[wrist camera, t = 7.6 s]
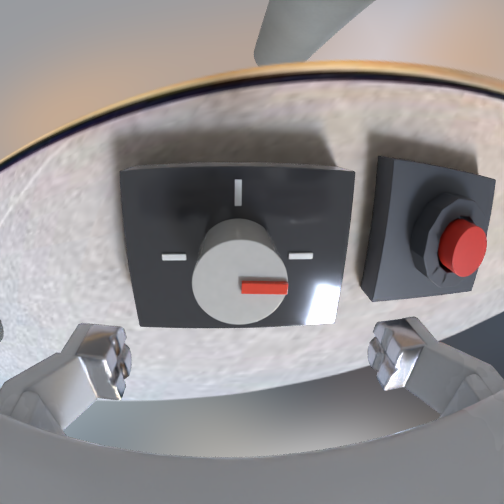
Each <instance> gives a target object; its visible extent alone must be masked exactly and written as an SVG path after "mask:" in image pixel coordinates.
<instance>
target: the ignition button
mask: <svg viewBox="0 0 504 504" xmlns="http://www.w3.org/2000/svg"><path fill="white" fill-rule="evenodd" d="M486 247H487V239H486V235H485V232H484V231H483V229H482V228H480V227H479V226H477V225H475V224H473V223H470V222H468V221H466V220H464V219H456V220H454V221H452V222H451V223H449V224H448V225H447V227H446V229H445V230H444V232H443V234H442V235H441V237H440V242H439V246H438V256H439V259H440V261H441V263H442V264H443V265H444V266H446V267H447V268H448V269H450V270H451V271H452V272H454V273H455V274H457V275H458V276H460V277H466V276H469V275H471V274H472V273H473V272H475V271H476V269H477V268H478V267H479V266H480V264H481V262H482V260H483V258H484V256H485V252H486Z"/></svg>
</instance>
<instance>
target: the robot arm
mask: <svg viewBox="0 0 504 504" xmlns="http://www.w3.org/2000/svg"><path fill="white" fill-rule="evenodd" d="M373 333H374V335H375V337H374V338H373V339H372V340H371V342H370V343H369V347H368V360H369V364H370V366H371V368H373V369H374V370H376V371H378V374H377V379H378V381H379V383H380V384H381V386H382V388H383V390H390V389H395V388H400V387H405V388H406V389H407V390H408V391H410V392H411V393H413V394H414V395H415V396H416V397H418V398H419V399H421V400H422V401H423V402H425V403H426V404H428V405H429V406H430V407H431V408H433V409H434V410H436V411H437V412H438V413H440V414H441V416H440V417H439V419H436V420H434V421H431V422H428V423H425V424H423V425H420V426H417V427H414V428H410V429H407V430H404V431H401V432H398V433H394V434H391V435H387V436H384V437H380V438H376V439H372V440H368V441H364V442H359V443H355V444H350V445H345V446H340V447H335V448H329V449H323V450H316V451H310V452H302V453H294V454H284V455H272V456H258V457H192V456H177V455H165V454H156V453H147V452H140V451H133V450H127V449H121V448H115V447H110V446H105V445H100V444H96V443H91V442H87V441H83V440H79V439H75V438H71V437H67V436H66V434H65V433H64V432H63V430H64V429H65V428H66V427H67V426H68V425H69V424H70V423H72V422H73V421H74V420H75V419H76V418H77V417H78V416H79V415H80V414H82V413H83V412H84V411H85V410H86V409H87V408H88V407H89V406H90V405H91V404H92V403H94V402H95V401H96V400H97V398H103V399H111V400H120V401H121V399H122V396H123V393H124V390H125V387H126V384H125V381H124V379H125V378H127V377H128V376H129V375H130V371H131V365H132V357H131V352H130V348H129V347H128V346H127V345H126V344H125V340H126V338H127V337H126V334H125V330H124V328H122V327H119V326H109V325H99V324H89V323H81V324H79V325H78V326H77V328H76V329H75V331H74V332H73V334H72V335H71V337H70V339H69V340H68V342H67V343H66V345H65V346H64V348H63V350H62V351H61V353H55V354H53V355H51V356H50V357H48V358H46V359H44V360H43V361H41V362H39V363H37V364H35V365H34V366H32V367H30V368H28V369H27V370H25V371H23V372H21V373H20V374H18V375H16V376H14V377H13V378H11V379H9V380H7V381H6V382H5V383H4V384H3V386H2V387H1V389H0V504H504V380H503V378H502V377H501V376H500V375H499V374H498V372H497V371H496V370H495V369H494V368H493V366H492V365H490V364H487V363H485V362H483V361H481V360H479V359H477V358H475V357H472V356H470V355H468V354H466V353H464V352H462V351H459V350H457V349H455V348H453V347H451V346H449V345H447V344H444V343H442V342H440V343H438V341H437V340H436V339H435V338H434V337H433V335H432V334H431V333H430V332H429V331H428V330H427V328H426V327H425V326H424V325H423V324H422V323H421V322H420V320H419V319H418V318H416V317H408V318H402V319H397V320H389V321H381V322H377V324H376V325H375V327H374V330H373Z"/></svg>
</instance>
